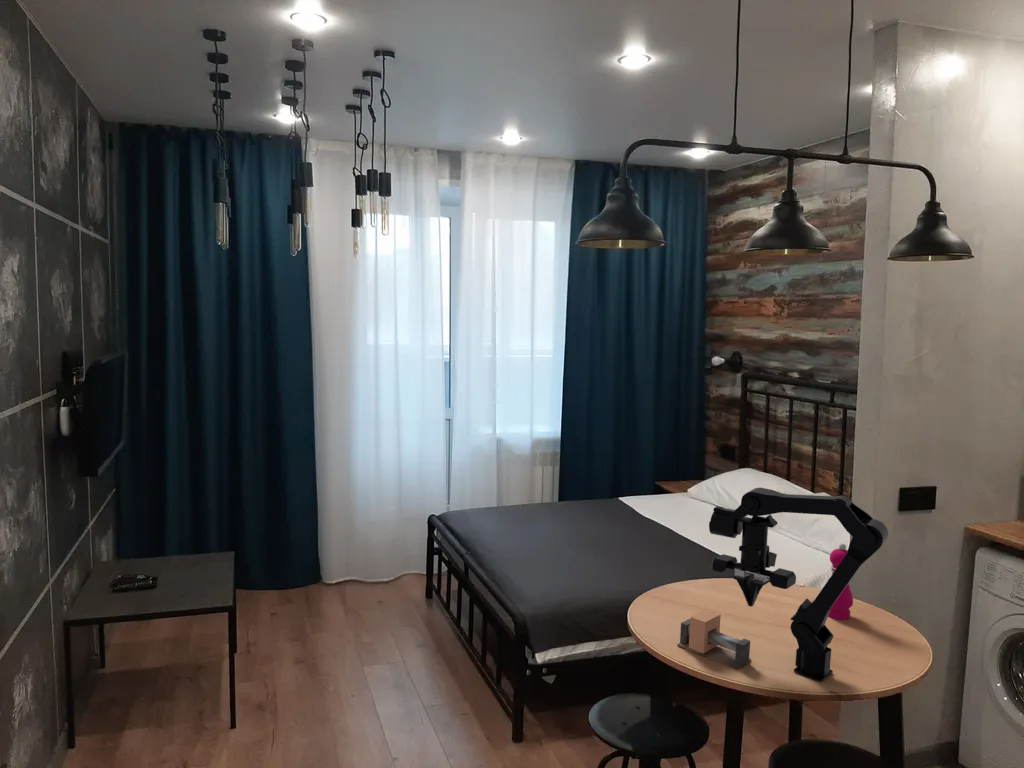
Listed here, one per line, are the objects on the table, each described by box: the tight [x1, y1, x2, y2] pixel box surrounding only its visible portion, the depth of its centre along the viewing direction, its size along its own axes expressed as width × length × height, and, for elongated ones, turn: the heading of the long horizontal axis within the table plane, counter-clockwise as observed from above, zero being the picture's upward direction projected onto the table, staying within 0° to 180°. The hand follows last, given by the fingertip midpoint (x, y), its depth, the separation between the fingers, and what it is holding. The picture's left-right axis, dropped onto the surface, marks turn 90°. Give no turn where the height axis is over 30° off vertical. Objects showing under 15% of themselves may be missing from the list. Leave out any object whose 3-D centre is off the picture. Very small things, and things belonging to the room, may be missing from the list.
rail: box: [677, 618, 752, 670], centre depth 184 cm, size 16×6×5 cm, turn 45°
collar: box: [689, 609, 722, 654], centre depth 185 cm, size 4×7×8 cm, turn 135°
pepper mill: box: [828, 543, 854, 621], centre depth 208 cm, size 7×7×20 cm
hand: (750, 605), depth 183 cm, fingers closed
